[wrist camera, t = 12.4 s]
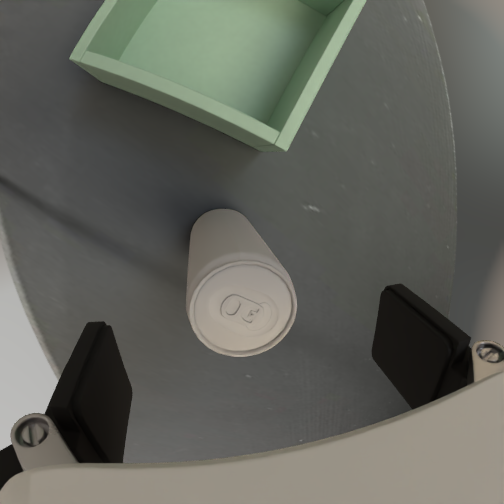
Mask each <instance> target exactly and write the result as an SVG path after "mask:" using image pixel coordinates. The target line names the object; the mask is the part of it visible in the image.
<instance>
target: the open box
mask: <svg viewBox="0 0 504 504" xmlns="http://www.w3.org/2000/svg"><path fill="white" fill-rule="evenodd" d="M366 1H367V0H105V2H104V3H103V4H102V6H101V7H100V9H99V10H98V12H97V13H96V15H95V16H94V18H93V19H92V21H91V22H90V24H89V26H88V27H87V29H86V30H85V32H84V34H83V35H82V37H81V39H80V40H79V42H78V44H77V45H76V47H75V49H74V51H73V52H72V54H71V56H70V58H69V59H70V60H71V61H73V62H74V63H76V64H77V65H78V66H80V67H81V68H83V69H84V70H85V71H87V72H88V73H90V74H91V75H92V76H94V77H95V78H97V79H98V80H99V81H101V82H103V83H105V84H108V85H111V86H114V87H116V88H119V89H122V90H124V91H127V92H130V93H132V94H135V95H137V96H140V97H142V98H145V99H147V100H150V101H152V102H155V103H157V104H160V105H162V106H164V107H167V108H169V109H171V110H174V111H176V112H178V113H181V114H183V115H185V116H188V117H190V118H192V119H194V120H196V121H199V122H201V123H203V124H205V125H207V126H210V127H212V128H214V129H216V130H218V131H220V132H222V133H224V134H227V135H229V136H231V137H233V138H235V139H237V140H239V141H241V142H243V143H245V144H247V145H249V146H251V147H253V148H255V149H257V150H259V151H261V152H274V151H287V150H288V148H289V146H290V144H291V142H292V140H293V139H294V137H295V135H296V133H297V131H298V129H299V127H300V125H301V123H302V121H303V119H304V117H305V115H306V113H307V112H308V110H309V108H310V106H311V104H312V102H313V100H314V98H315V96H316V94H317V92H318V90H319V89H320V87H321V85H322V83H323V81H324V79H325V77H326V75H327V73H328V71H329V70H330V68H331V66H332V64H333V62H334V60H335V58H336V56H337V54H338V53H339V51H340V49H341V47H342V45H343V43H344V41H345V39H346V38H347V36H348V34H349V32H350V30H351V28H352V26H353V25H354V23H355V21H356V19H357V17H358V15H359V13H360V12H361V10H362V8H363V6H364V4H365V2H366Z"/></svg>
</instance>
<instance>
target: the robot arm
mask: <svg viewBox="0 0 504 504" xmlns="http://www.w3.org/2000/svg"><path fill="white" fill-rule="evenodd" d="M470 340H471V337H469V336H468V335H467V334H466V333H464V332H463V331H462V330H461V329H459V328H458V327H457V326H456V325H455V324H453V323H452V322H451V321H450V320H448V319H447V318H446V317H444V316H443V315H442V314H441V313H439V312H438V311H437V310H435V309H434V308H433V307H432V306H430V305H429V304H428V303H426V302H425V301H424V300H422V299H421V298H420V297H418V296H417V295H416V294H414V293H413V292H412V291H410V290H409V289H408V288H406V287H405V286H404V285H402V284H395V285H390V286H387V287H385V289H384V291H382V293H381V297H380V304H379V311H378V317H377V324H376V330H375V336H374V341H373V347H372V357H373V359H374V361H375V362H376V363H377V365H378V366H379V367H380V368H381V370H382V371H383V372H384V373H385V375H386V376H387V377H388V378H389V380H390V381H391V382H392V384H393V385H394V386H395V387H396V389H397V390H398V391H399V393H400V394H401V395H402V396H403V398H404V399H405V400H406V402H407V403H408V404H409V405H410V407H411V408H412V409H413V410H411V411H408V412H406V413H403V414H401V415H398V416H395V417H393V418H390V419H387V420H384V421H381V422H378V423H376V424H373V425H370V426H366V427H363V428H360V429H357V430H354V431H351V432H347V433H344V434H340V435H337V436H333V437H329V438H326V439H322V440H318V441H314V442H310V443H306V444H301V445H297V446H292V447H287V448H283V449H277V450H272V451H267V452H261V453H255V454H249V455H242V456H235V457H227V458H219V459H210V460H199V461H185V462H167V463H123V455H124V447H125V440H126V433H127V426H128V419H129V413H130V407H131V401H132V387H131V384H130V382H129V379H128V376H127V373H126V370H125V368H124V365H123V362H122V359H121V356H120V353H119V350H118V346H117V343H116V340H115V337H114V333H113V330H112V328H111V326H110V325H108V326H107V325H106V323H105V322H104V321H103V322H88V323H87V324H86V326H85V328H84V330H83V332H82V334H81V336H80V338H79V340H78V342H77V344H76V346H75V348H74V350H73V352H72V355H71V357H70V359H69V361H68V363H67V364H66V366H65V368H64V371H63V373H62V375H61V377H60V379H59V382H58V384H57V386H56V389H55V391H54V393H53V395H52V398H51V400H50V402H49V405H48V407H47V410H46V412H45V415H44V414H40V413H32V414H29V415H25V416H24V417H22V418H20V419H19V420H18V421H17V422H16V423H15V424H14V426H13V428H12V430H11V441H12V445H10V446H8V447H6V448H4V449H3V450H1V451H0V504H504V347H503V346H501V345H500V344H498V343H496V342H493V341H488V340H482V341H478V342H476V343H475V344H474V345H473V346H472V349H471V348H470V347H469V343H470Z"/></svg>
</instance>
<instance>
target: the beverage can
mask: <svg viewBox="0 0 504 504" xmlns="http://www.w3.org/2000/svg"><path fill="white" fill-rule="evenodd" d="M186 310H187V314H188V318H189V321H190V323H191V326H192V329H193V331H194V332H195V334H196V336H197V337H198V339H199V340H200V341H201V342H202V343H204V344H205V345H206V346H207V347H208V348H210V349H212V350H214V351H216V352H218V353H220V354H224V355H228V356H235V357H246V356H251V355H255V354H259V353H261V352H264V351H266V350H268V349H270V348H272V347H273V346H274V345H276V344H277V343H278V342H280V341H281V340H282V339H283V338H284V336H285V335H286V334H287V333H288V332H289V330H290V328H291V326H292V324H293V322H294V320H295V316H296V310H297V301H296V294H295V291H294V286H293V284H292V281H291V279H290V276H289V274H288V273H287V271H286V270H285V269H284V267H283V266H282V265H281V263H280V262H279V261H278V259H277V258H276V257H275V255H274V254H273V253H272V251H271V250H270V249H269V247H268V246H267V245H266V243H265V242H264V241H263V239H262V238H261V237H260V235H259V234H258V233H257V231H256V230H255V229H254V227H253V226H252V225H251V223H250V222H249V221H248V220H247V218H246V217H245V216H244V215H242V214H241V213H239V212H238V211H234V210H231V209H216V210H211V211H209V212H206V213H204V214H203V215H202V216H201V217H199V218H198V220H197V221H196V222H195V224H194V225H193V228H192V231H191V236H190V247H189V261H188V277H187V294H186Z"/></svg>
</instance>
